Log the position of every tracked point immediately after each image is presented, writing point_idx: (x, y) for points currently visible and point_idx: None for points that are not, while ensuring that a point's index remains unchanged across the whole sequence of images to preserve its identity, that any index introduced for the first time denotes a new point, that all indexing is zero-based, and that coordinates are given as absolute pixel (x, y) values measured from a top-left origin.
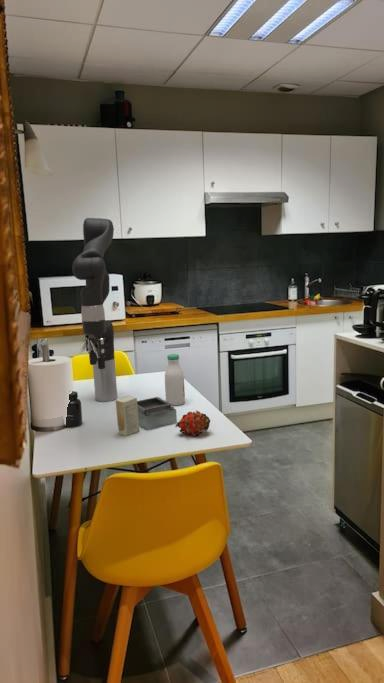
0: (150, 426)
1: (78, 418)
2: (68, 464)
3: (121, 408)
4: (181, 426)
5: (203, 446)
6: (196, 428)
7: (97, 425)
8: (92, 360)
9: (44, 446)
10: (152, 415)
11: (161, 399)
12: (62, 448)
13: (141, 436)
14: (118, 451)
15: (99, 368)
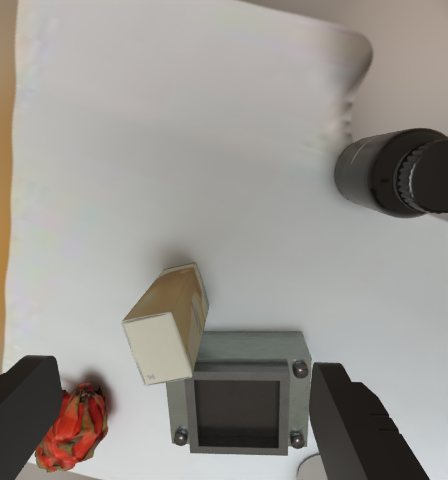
0: None
1: (344, 186)
2: (45, 56)
3: (141, 305)
4: (70, 396)
5: None
6: None
7: (300, 236)
8: (328, 422)
9: (226, 21)
10: None
11: (251, 452)
12: (175, 74)
13: None
14: (70, 213)
15: (27, 361)
